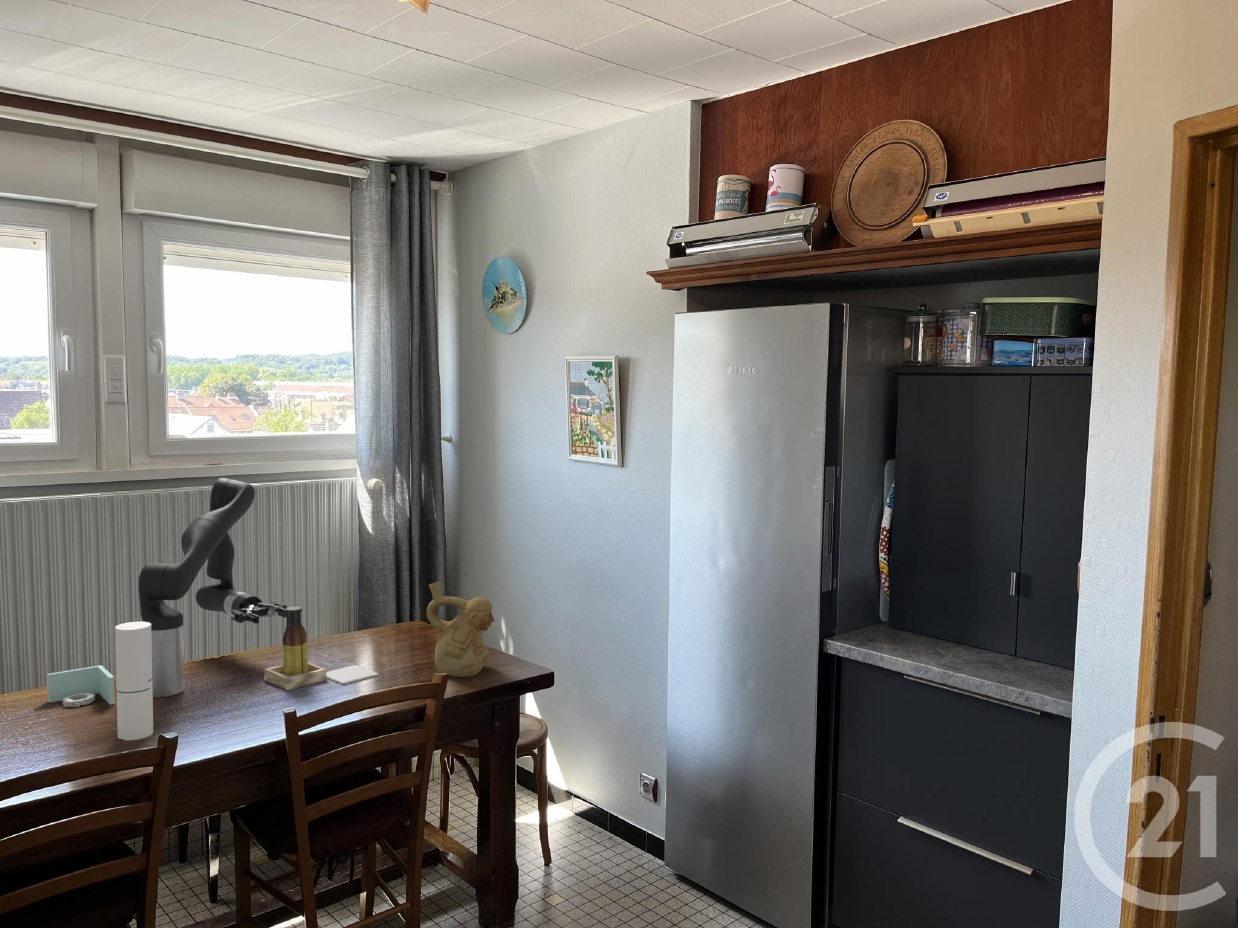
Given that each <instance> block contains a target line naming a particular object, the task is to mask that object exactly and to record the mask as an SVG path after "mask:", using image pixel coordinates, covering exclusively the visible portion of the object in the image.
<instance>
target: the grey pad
mask: <svg viewBox="0 0 1238 928" xmlns="http://www.w3.org/2000/svg"><path fill="white" fill-rule="evenodd" d="M378 676H379V673H378V672H375V671H372V670H370V669H367V668H364V667H361V666H358V665H356V664H354V665H350V666H347V667H346V666H345V667H342V668H338V669H334V670H329V671H326V680H329V679H330V681H332V682H335V683H337V682H338V683H337V684H340V685H342V684H345V685H349V684H352V683H356V682H359V681H363V680H362V679H364V680H367V679H370V678H374V677H378ZM355 681H356V682H355ZM351 682H352V683H351Z"/></svg>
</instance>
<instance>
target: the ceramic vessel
mask: <svg viewBox="0 0 1238 928" xmlns="http://www.w3.org/2000/svg"><path fill="white" fill-rule="evenodd" d="M428 586H429V590H430V592H431V595H432V600H431V601H430V602H429V603H428V605H427V607H426V618H427V620H428V622H429V623H430V625H431V626H432V627H434V628H435V629H437V630H439V631H441V633H440V634H439V636H438V638H437V641H436V645H435V649H434V652H435V653H434V664H435V669H436V671H437V673H438V674H440V673H447V674H448V675H449V676H448V677H451V678H452V677H454V678H466V677H475V676H476V675H478V674H479V673H480V672H481V671H482V670H483V667H484V666H485V665H486V664H487V663H488V661H489V659H490V652H489V649H488V648H487V647H486V646H485V645H484V638H483V632H487V631H488V629H489V628H490V627H491V626H492V623H494V622H495V618H494V616H493V613H492V609H493V604H492V603H491V601H489V600H488V599H487V598H486V597H482V596H477V597H472V598H471V599H469V600H467V599H465V598H461V597H458V596H443V593H442V589H441V583H440V581H436V582H431V583H430V584H428ZM442 606H455V607H458V608H459V609H461V611H460V613H459V614H458V615H456V616H455V618H453V619H452V620H450V621H449V620H448V621H447V620H443V619H442V618H440V617H438V615H437V609H438V608H439V607H442Z"/></svg>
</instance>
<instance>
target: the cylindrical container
mask: <svg viewBox="0 0 1238 928" xmlns="http://www.w3.org/2000/svg"><path fill="white" fill-rule="evenodd" d="M114 633H115V677H116V678H115V680H116V681H115V682H116V683H115V684H116V717H117V720H116V721H117V722H116V723H117V724H116V725H117V726H116V728H117V739H119V740H121V739H123V740H122V741H137V740H143V739H145V738H148V737H150V736H152V735H153V733H154V706H153V705H154V701H153V700H154V698H153V693H152V641H151V623H149V622H143V621H130V622H125V623H120V624H117V625H115V627H114Z"/></svg>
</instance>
